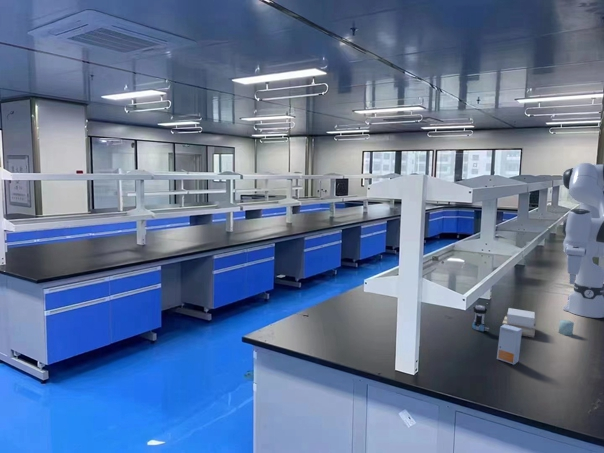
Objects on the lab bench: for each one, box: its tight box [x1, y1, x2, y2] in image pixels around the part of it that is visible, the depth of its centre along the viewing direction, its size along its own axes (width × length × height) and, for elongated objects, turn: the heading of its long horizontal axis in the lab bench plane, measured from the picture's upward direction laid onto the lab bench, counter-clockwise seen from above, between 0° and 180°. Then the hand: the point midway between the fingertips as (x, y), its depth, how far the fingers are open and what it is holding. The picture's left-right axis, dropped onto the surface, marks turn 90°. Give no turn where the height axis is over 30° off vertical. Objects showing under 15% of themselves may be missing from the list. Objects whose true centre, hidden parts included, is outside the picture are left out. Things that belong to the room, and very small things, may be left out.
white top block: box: [506, 307, 536, 328], centre depth 185 cm, size 10×10×4 cm
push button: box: [471, 304, 490, 332], centre depth 184 cm, size 7×5×10 cm
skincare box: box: [496, 324, 522, 366], centre depth 153 cm, size 6×4×12 cm
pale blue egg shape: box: [558, 319, 575, 337], centre depth 184 cm, size 5×5×5 cm
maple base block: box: [501, 315, 537, 339], centre depth 186 cm, size 12×12×4 cm
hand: (572, 282), depth 182 cm, fingers open, 8 cm apart
